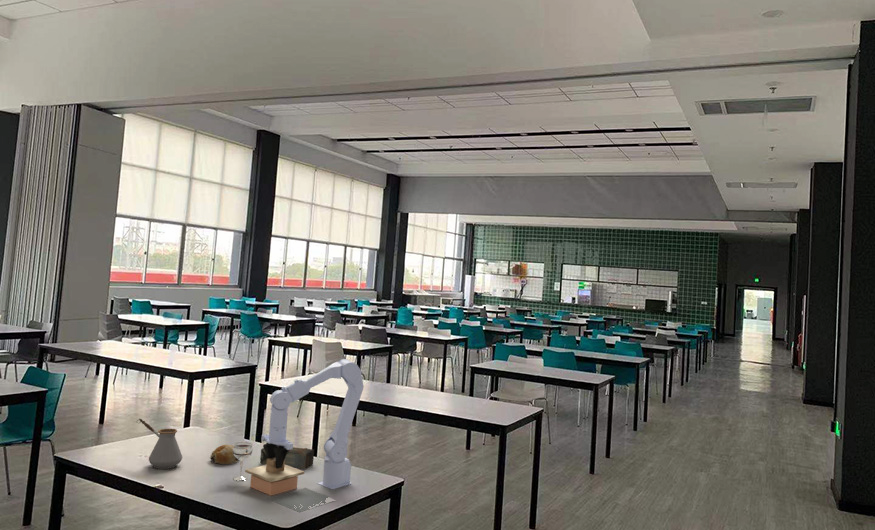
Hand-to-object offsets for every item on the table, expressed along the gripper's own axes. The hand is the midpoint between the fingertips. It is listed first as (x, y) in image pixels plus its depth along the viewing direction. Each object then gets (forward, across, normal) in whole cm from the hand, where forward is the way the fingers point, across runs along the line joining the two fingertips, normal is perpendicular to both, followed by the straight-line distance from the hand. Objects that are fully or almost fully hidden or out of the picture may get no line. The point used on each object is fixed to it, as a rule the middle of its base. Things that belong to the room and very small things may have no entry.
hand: (275, 466), depth 216 cm
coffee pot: (+8, -50, -15) cm, 53 cm away
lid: (+2, 0, 0) cm, 2 cm away
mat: (+8, +15, 0) cm, 17 cm away
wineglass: (+8, -16, -2) cm, 18 cm away
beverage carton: (+8, -19, +21) cm, 30 cm away
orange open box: (+8, 0, 0) cm, 8 cm away
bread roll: (+8, -37, +6) cm, 39 cm away
